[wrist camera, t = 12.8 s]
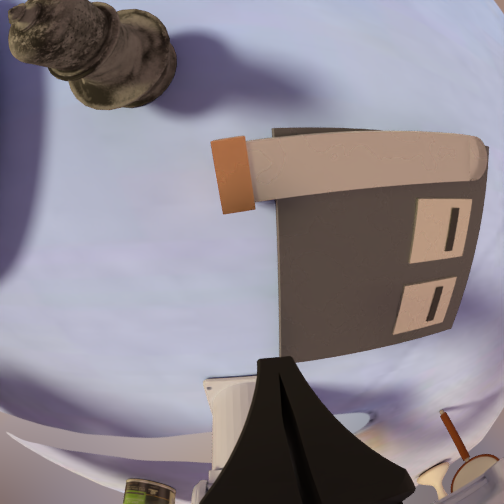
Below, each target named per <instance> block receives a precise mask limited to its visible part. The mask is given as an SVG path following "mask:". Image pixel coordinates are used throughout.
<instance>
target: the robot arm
mask: <svg viewBox="0 0 504 504" xmlns="http://www.w3.org/2000/svg"><path fill="white" fill-rule="evenodd" d="M203 386H204V389H205V392H206V396H207V399H208V402H209V405H210V409H211V412H212V415H213V428H212V470H210V471H209V482H208V480H201V481H200V482H199V483H198V484H197V485H195V486H194V488H193V493H192V501H191V504H403V503H402V501H403V500H405V499H406V498H407V497H409V496H410V495H411V494H412V493H414V491H415V489H416V488H415V486H414V483H413V481H412V479H411V477H410V476H409V474H408V472H407V471H406V469H404V468H402V467H400V466H398V465H397V464H395V463H393V462H391V461H389V460H388V459H386V458H384V457H383V456H381V455H380V454H378V453H377V452H375V451H374V450H372V449H371V448H370V447H368V446H367V445H366V444H364V443H363V442H362V441H361V440H359V439H358V438H357V437H355V436H354V435H353V434H352V433H351V432H350V431H349V430H347V429H346V428H345V427H344V426H343V425H342V424H341V423H340V422H339V421H338V420H337V419H336V418H335V417H334V416H333V414H332V413H331V412H330V411H329V410H328V409H327V408H326V406H325V405H324V404H323V403H322V402H321V400H320V399H319V398H318V397H317V395H316V394H315V393H314V391H313V390H312V388H311V387H310V386H309V384H308V383H307V381H306V380H305V378H304V377H303V375H302V374H301V372H300V370H299V368H298V367H297V365H296V363H295V361H294V359H293V357H291V356H285V357H275V358H264V359H259V360H258V361H257V376H247V377H234V378H218V379H206V380H204V381H203ZM432 504H504V457H503V458H501V459H500V460H499V461H497V462H496V463H495V464H494V465H492V466H491V467H490V468H489V469H487V470H486V471H485V472H484V473H483V474H482V475H480V476H479V477H477V478H475V479H474V480H472V481H471V482H469V483H468V484H466V485H464V486H463V487H461V488H459V489H458V490H456V491H454V492H452V493H451V494H449V495H447V496H445V497H443V498H442V499H440V500H438V501H436V502H434V503H432Z"/></svg>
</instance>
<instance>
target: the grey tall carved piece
mask: <svg viewBox="0 0 504 504" xmlns="http://www.w3.org/2000/svg"><path fill="white" fill-rule="evenodd" d="M8 18H9V23H10V24H11V27H10V30H9V37H8V41H9V48H10V51H11V53H12V55H13V56H14V57H15V58H16V59H18V60H19V61H21V62H24V63H29V64H34V65H39V66H44V67H48V69H49V71H50V73H51V74H52V75H53V76H55V77H56V78H57V79H60V80H64V81H69V85H70V88H71V91H72V92H73V94H74V95H75V97H76V98H77V99H78V100H79V101H80V102H82V103H83V104H84V105H85V106H88V107H91V108H94V109H96V110H112V109H117V108H121V107H127V108H134V107H139V106H143V105H145V104H147V103H150V102H152V101H153V100H155V99H156V98H157V97H159V96H160V95H161V94H162V93H163V92H164V91H165V90H166V89H167V87H168V86H169V85H170V83H171V81H172V79H173V77H174V75H175V71H176V67H177V59H176V53H175V50H174V48H173V46H172V45H171V43H170V38H169V36H168V33H167V30H166V27H165V26H164V25H163V23H162V22H161V21H160V20H159V19H158V18H157V17H156V16H154V15H152V14H151V13H149V12H146V11H142V10H137V9H129V10H121V11H117V12H116V10H115V9H114V8H113V7H112V6H110V5H108V4H106V3H102V2H92V3H91V2H89V1H88V0H28V1H27V2H26V3H25V4H24V3H22V4H19V5H18V6H15V7H13V8H11V9H10V10H9V11H8Z"/></svg>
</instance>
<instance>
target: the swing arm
mask: <svg viewBox="0 0 504 504" xmlns="http://www.w3.org/2000/svg"><path fill="white" fill-rule="evenodd" d="M211 148H212V154H213V160H214V166H215V171H216V177H217V183H218V189H219V194H220V200H221V206H222V211H223V214H230V213H236V212H242V211H249V210H255V202H260V201H266V200H273V199H281V198H288V197H295V196H303V195H311V194H319V193H327V192H336V191H345V190H354V189H364V188H374V187H385V186H397V185H409V184H423V183H438V182H456V181H470V180H472V181H476V180H478V179H480V178H481V177H482V175H483V174H484V172H485V170H486V166H487V151H486V148H485V145H484V143H483V142H482V141H481V139H479V138H478V137H475V136H470V135H464V134H456V133H443V132H425V131H346V132H327V133H313V134H301V135H290V136H281V137H272V138H264V139H256V140H249V141H245V136H237V137H230V138H224V139H218V140H213V141H211Z"/></svg>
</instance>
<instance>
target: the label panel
mask: <svg viewBox="0 0 504 504" xmlns="http://www.w3.org/2000/svg"><path fill="white" fill-rule="evenodd" d="M346 131H383V130H369V129H351V128H272V137H281V136H290V135H301V134H313V133H327V132H346ZM485 148H486V151H487V166H486V170H485V172H484V174H483V175H482V177H481V178H480V179H478V180H476V181H472V180H470V181H456V182H438V183H423V184H409V185H397V186H385V187H374V188H364V189H354V190H345V191H336V192H327V193H319V194H311V195H303V196H295V197H288V198H281V199H275V201H276V226H277V255H278V293H279V357H285V356H291V357H293V359H294V361H295V363H297V362H305V361H311V360H318V359H324V358H330V357H336V356H341V355H347V354H352V353H357V352H362V351H367V350H372V349H376V348H381V347H385V346H389V345H394V344H398V343H402V342H406V341H409V340H413V339H417V338H421V337H424V336H428V335H431V334H435V333H438V332H441V331H445V330H448V329H451V327H452V325H453V322H454V320H455V317H456V314H457V311H458V308H459V305H460V302H461V299H462V296H463V293H464V290H465V287H466V283H467V280H468V276H469V273H470V269H471V265H472V261H473V257H474V253H475V249H476V244H477V240H478V235H479V230H480V224H481V219H482V213H483V206H484V199H485V191H486V182H487V171H488V155H489V147H488V146H485Z"/></svg>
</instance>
